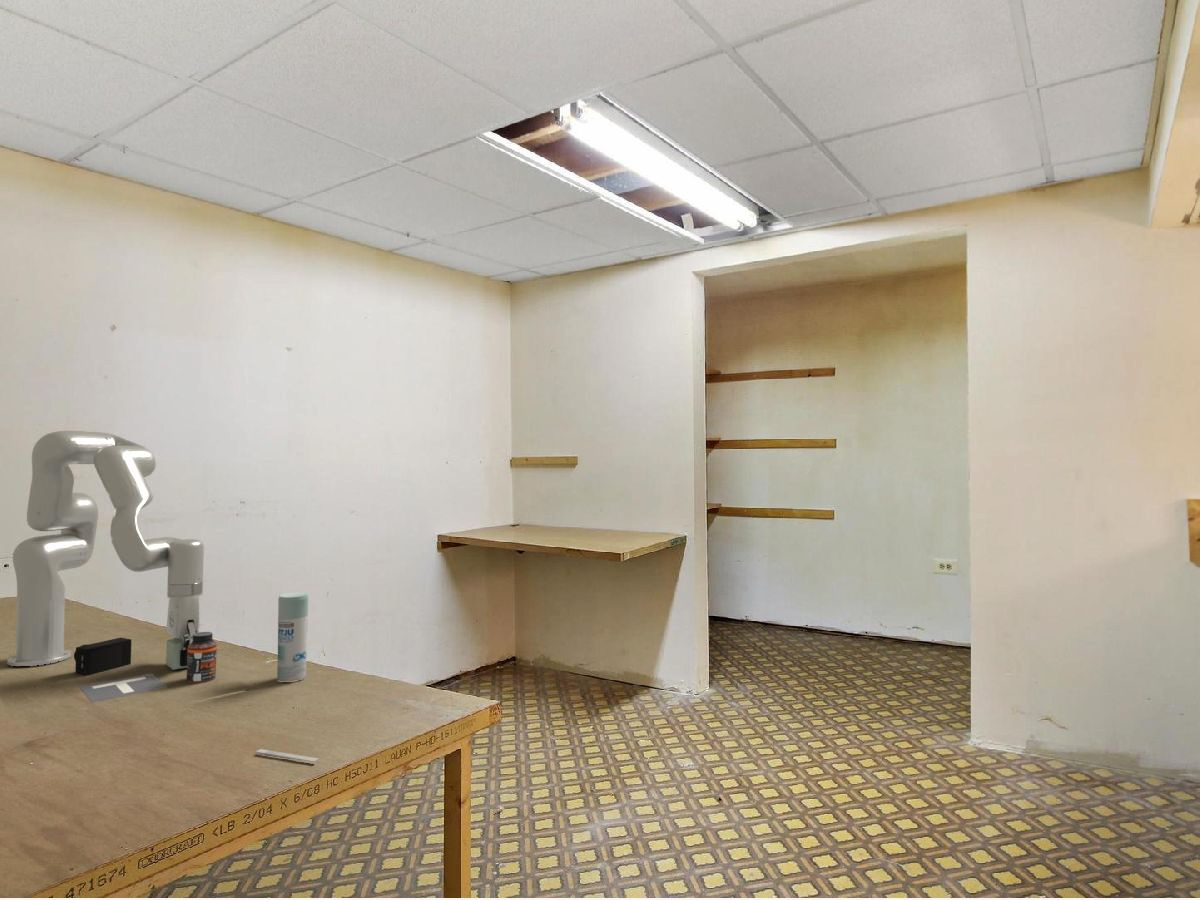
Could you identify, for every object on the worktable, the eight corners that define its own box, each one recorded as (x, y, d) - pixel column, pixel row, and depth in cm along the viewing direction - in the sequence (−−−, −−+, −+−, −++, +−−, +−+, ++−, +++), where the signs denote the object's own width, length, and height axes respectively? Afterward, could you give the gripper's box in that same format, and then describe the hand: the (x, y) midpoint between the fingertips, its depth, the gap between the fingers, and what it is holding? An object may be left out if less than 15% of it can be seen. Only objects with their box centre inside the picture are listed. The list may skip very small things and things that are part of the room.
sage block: (166, 664, 169) (166, 640, 169) (193, 659, 173) (193, 635, 173) (173, 669, 165) (173, 644, 165) (200, 664, 169) (201, 640, 169)
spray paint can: (312, 676, 164) (314, 593, 164) (290, 684, 158) (291, 598, 158) (293, 672, 167) (295, 591, 167) (270, 680, 161) (272, 595, 161)
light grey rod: (318, 764, 118) (319, 758, 118) (314, 767, 117) (314, 761, 117) (260, 754, 122) (260, 748, 122) (255, 757, 121) (255, 751, 121)
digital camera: (117, 664, 172) (118, 636, 172) (131, 666, 170) (131, 638, 170) (71, 675, 162) (72, 646, 163) (85, 678, 160) (86, 649, 160)
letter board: (79, 689, 153) (79, 686, 153) (151, 675, 163) (151, 673, 163) (91, 705, 143) (91, 702, 143) (168, 689, 153) (168, 687, 153)
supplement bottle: (202, 687, 156) (203, 637, 156) (180, 685, 157) (181, 635, 157) (221, 679, 161) (222, 631, 162) (200, 677, 163) (201, 629, 163)
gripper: (158, 586, 172) (156, 657, 172) (178, 596, 160) (176, 673, 160) (191, 583, 178) (189, 651, 178) (213, 592, 166) (211, 666, 166)
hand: (183, 661), depth 169 cm, fingers open, 6 cm apart
